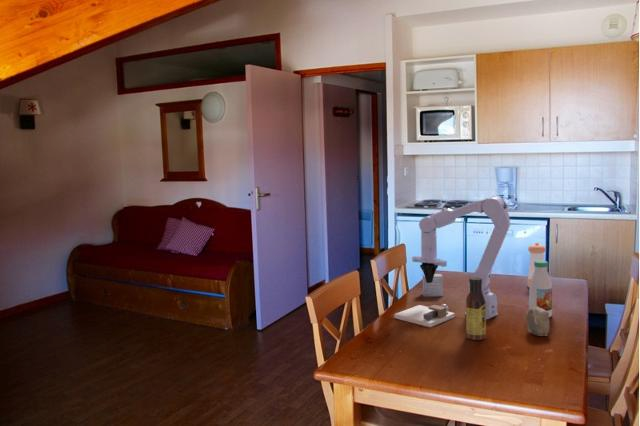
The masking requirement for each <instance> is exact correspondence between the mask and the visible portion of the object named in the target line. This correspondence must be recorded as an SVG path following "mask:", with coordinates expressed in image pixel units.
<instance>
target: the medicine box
mask: <svg viewBox="0 0 640 426" xmlns="http://www.w3.org/2000/svg"><path fill="white" fill-rule="evenodd" d="M443 278H444V277H443V275H442V274H441V273H435V274H434V277H433V281H432V282H431V283H426V279H425V275H424V273H423V274H422V295H423V297H426V298H427V297H443V295H444V292H443V291H444V290H443V289H444V288H443V287H444V286H443V285H444V284H443V281H444V280H443Z"/></svg>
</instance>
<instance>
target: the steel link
mask: <svg viewBox="0 0 640 426" xmlns="http://www.w3.org/2000/svg"><path fill="white" fill-rule="evenodd" d="M440 306H442V307H446V314H448V312H449V306H448V305H447V304H445V303H442V304H440ZM437 316H438V311H435V310H433V311H431V312H428V313H426V314H423V317H424V319H427V320H429V319H432V318H434V317H437Z"/></svg>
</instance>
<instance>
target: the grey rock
mask: <svg viewBox="0 0 640 426" xmlns="http://www.w3.org/2000/svg"><path fill="white" fill-rule="evenodd" d="M548 315H549V313H548V312H547V311H546V310H544V309H542V308H539V307H537V306H532V308H531V309H530V310H529V309H528V310H527V313H526V316H525V320H526V325H527V326H526V327H527V330H528V332H529V333H531V334H532V335H534V336H537V337H539V336H540V337H543V336H545V337H547V336H549V335H548V333H549V332H550V317H549V316H548Z"/></svg>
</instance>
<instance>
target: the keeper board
mask: <svg viewBox="0 0 640 426" xmlns="http://www.w3.org/2000/svg"><path fill="white" fill-rule="evenodd" d="M433 310H435V311H438V316H437V317H434V318H432V319H429V320H427V319H424V317H423V314H426V313H428V312H431V311H433ZM455 317H456V313H455V312H452V311H448V314H446V307H442V306H441V305H436V304H433V305H429V306H425V305H422V304H418V305H415V306H412V307H410V308H407V309H404V310H402V311H399V312H396V313H394V319H397V320H401V321H405V322H409V323H413V324H416V325H420V326H423V327H426V328H432V327H434V326H437V325H440V324H441V323H444V322H447V321H450V320H451V319H454V318H455Z"/></svg>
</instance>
